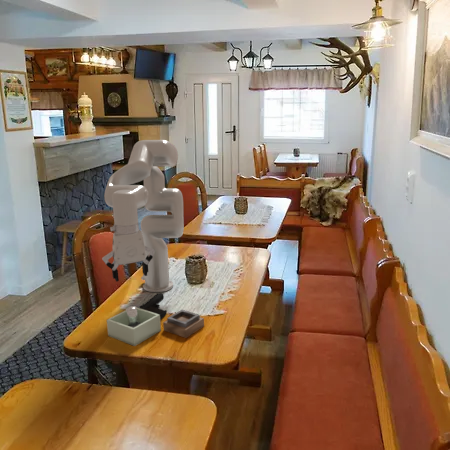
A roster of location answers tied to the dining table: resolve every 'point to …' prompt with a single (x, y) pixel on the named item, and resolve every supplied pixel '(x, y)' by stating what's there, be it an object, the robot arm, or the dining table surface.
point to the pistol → (154, 305)
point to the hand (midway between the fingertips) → (131, 277)
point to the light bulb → (132, 316)
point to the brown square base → (183, 323)
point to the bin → (137, 334)
